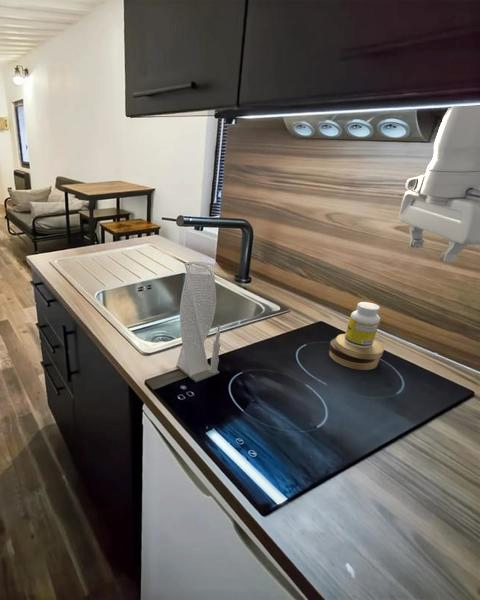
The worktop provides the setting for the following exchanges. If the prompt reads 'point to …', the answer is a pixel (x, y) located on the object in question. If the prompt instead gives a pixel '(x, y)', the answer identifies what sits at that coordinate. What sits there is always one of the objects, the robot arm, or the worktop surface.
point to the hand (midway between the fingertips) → (430, 253)
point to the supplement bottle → (363, 325)
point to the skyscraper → (198, 321)
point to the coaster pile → (355, 354)
